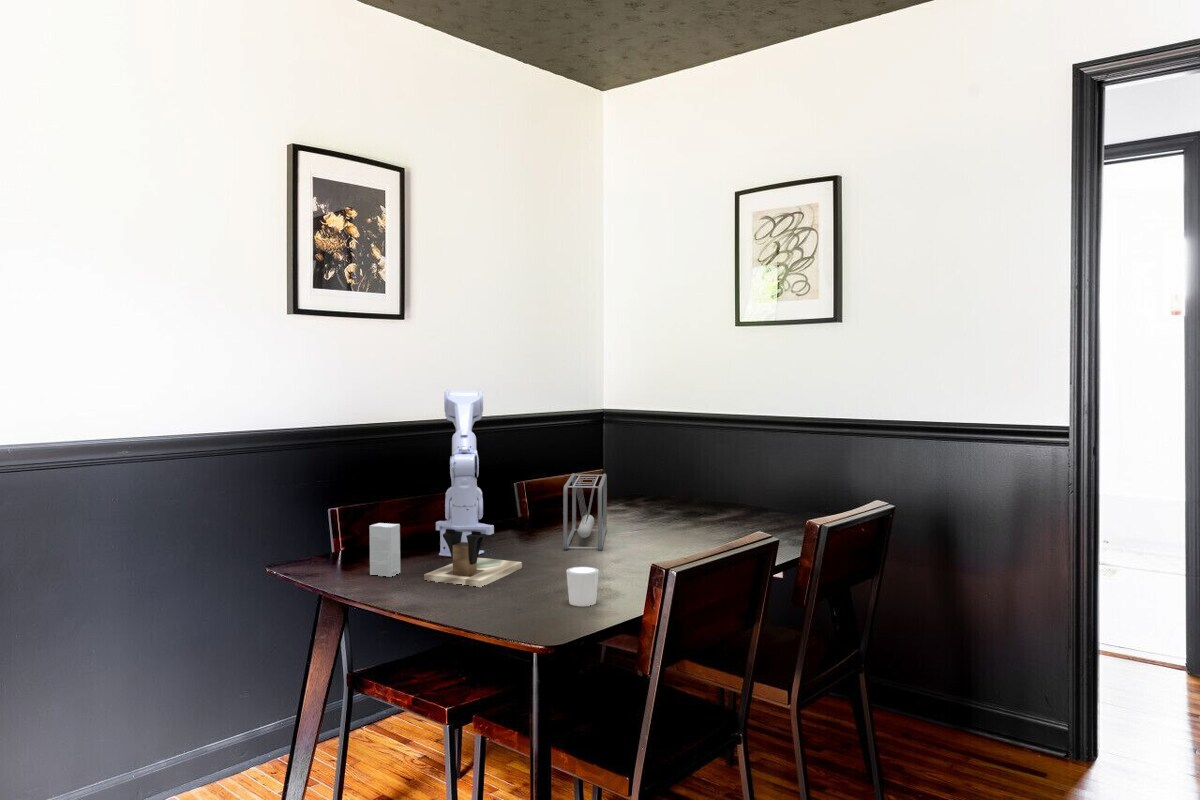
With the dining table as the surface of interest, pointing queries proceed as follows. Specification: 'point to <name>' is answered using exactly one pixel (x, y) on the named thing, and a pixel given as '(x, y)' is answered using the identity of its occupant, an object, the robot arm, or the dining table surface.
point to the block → (462, 560)
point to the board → (485, 573)
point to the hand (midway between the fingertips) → (464, 562)
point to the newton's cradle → (587, 520)
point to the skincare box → (384, 549)
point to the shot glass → (582, 585)
